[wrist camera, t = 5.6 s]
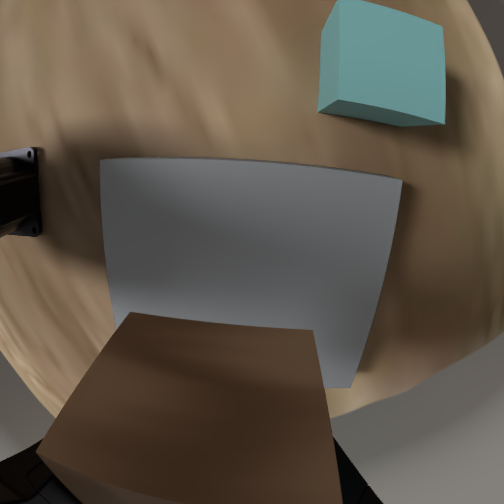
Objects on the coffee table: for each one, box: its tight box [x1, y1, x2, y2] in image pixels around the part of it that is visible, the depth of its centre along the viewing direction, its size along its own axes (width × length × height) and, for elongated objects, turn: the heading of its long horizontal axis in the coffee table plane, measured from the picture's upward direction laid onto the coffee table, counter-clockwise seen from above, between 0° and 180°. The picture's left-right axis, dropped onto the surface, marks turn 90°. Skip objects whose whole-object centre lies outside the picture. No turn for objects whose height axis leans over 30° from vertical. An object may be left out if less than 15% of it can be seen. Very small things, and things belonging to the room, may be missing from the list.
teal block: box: [318, 0, 446, 127], centre depth 12 cm, size 5×5×5 cm
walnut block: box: [36, 312, 343, 504], centre depth 7 cm, size 6×6×6 cm
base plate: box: [100, 157, 403, 388], centre depth 17 cm, size 16×14×2 cm
